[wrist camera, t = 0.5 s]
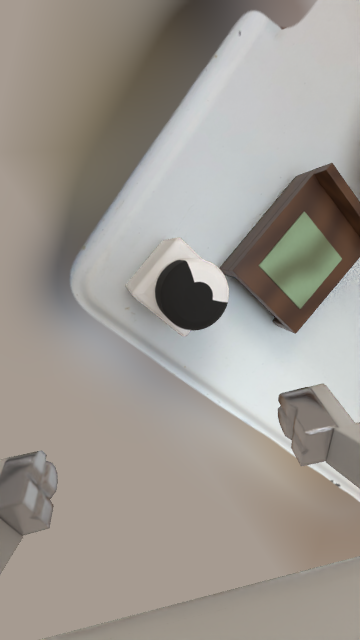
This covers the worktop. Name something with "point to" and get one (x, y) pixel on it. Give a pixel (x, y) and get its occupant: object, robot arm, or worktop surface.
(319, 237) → the shelf
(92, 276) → the worktop surface
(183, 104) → the worktop surface
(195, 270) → the medicine bottle
